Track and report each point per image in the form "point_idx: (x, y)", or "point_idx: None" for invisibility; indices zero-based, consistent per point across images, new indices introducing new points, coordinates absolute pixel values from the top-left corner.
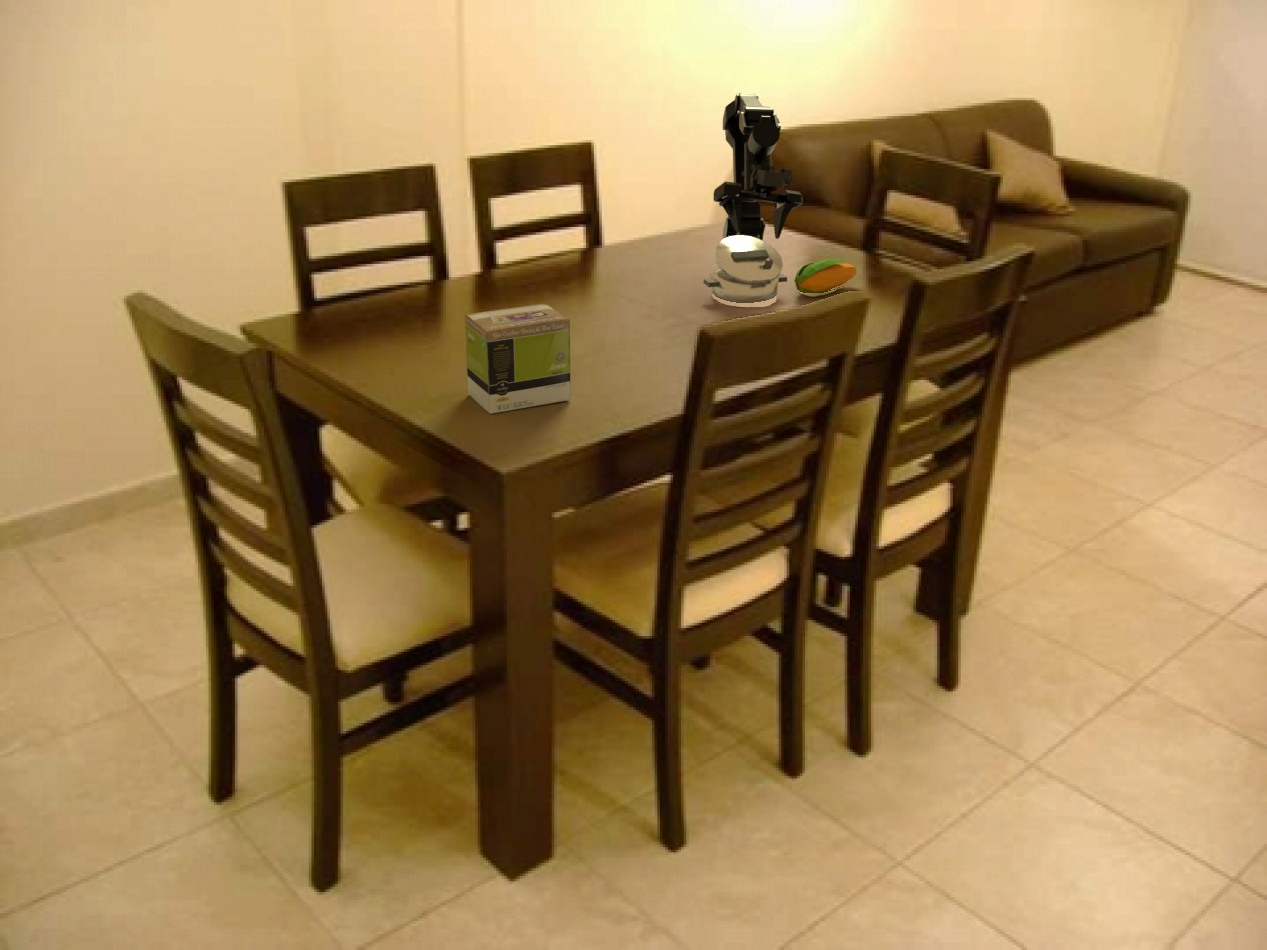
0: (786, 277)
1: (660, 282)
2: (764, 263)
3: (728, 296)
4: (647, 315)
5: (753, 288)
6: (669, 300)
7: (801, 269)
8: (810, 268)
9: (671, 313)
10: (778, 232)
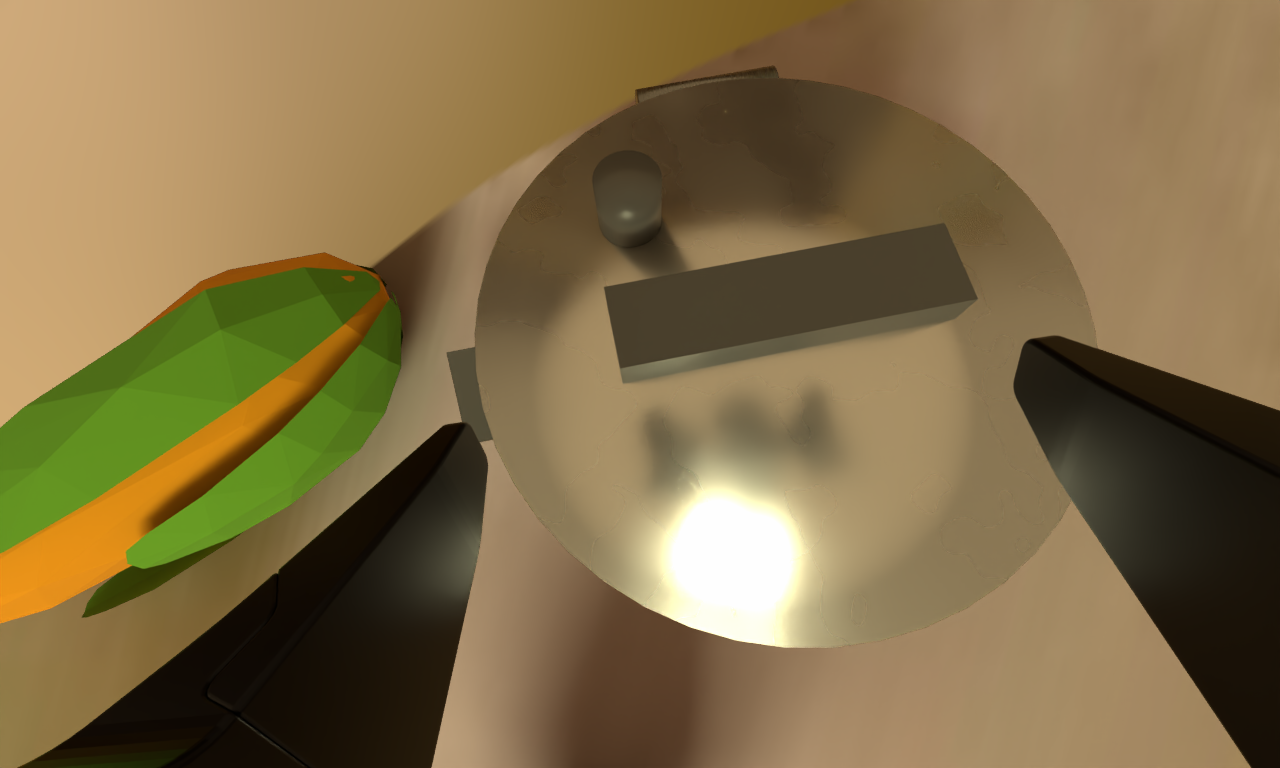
0: (453, 351)
1: (1070, 621)
2: (650, 254)
3: None
4: (1273, 80)
5: None
6: (1104, 321)
7: (304, 476)
8: (244, 334)
9: (1151, 104)
10: (444, 452)
